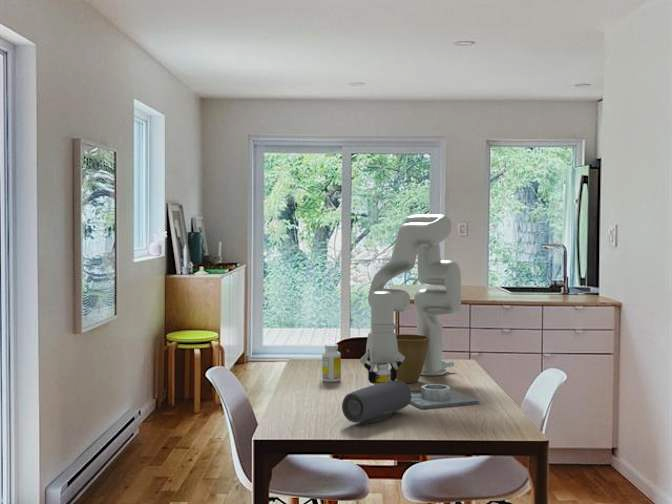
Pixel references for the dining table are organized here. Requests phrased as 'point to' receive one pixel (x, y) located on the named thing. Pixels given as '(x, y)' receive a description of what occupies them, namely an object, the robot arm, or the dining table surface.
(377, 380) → the supplement bottle
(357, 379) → the dining table surface
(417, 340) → the plant pot
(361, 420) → the bluetooth speaker
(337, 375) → the supplement bottle
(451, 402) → the duct collar
